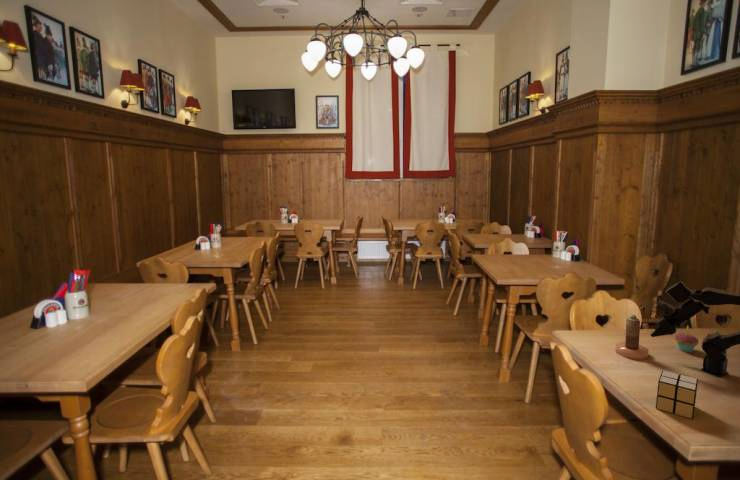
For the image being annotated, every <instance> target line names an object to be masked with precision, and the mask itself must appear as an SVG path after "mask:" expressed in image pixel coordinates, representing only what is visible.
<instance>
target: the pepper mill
mask: <svg viewBox="0 0 740 480" xmlns="http://www.w3.org/2000/svg"><path fill="white" fill-rule="evenodd" d="M625 321H626V322H625V339H624V340H625V341H624V342H625V347H626V348H628V349H632V350H637V349H639V345H640V332H641V331H640V329H641V321H640V319H639V318H638V317H637V316H636V315H635V314H631V315H630V316H629V317H628V318H627V319H626V320H625Z"/></svg>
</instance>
